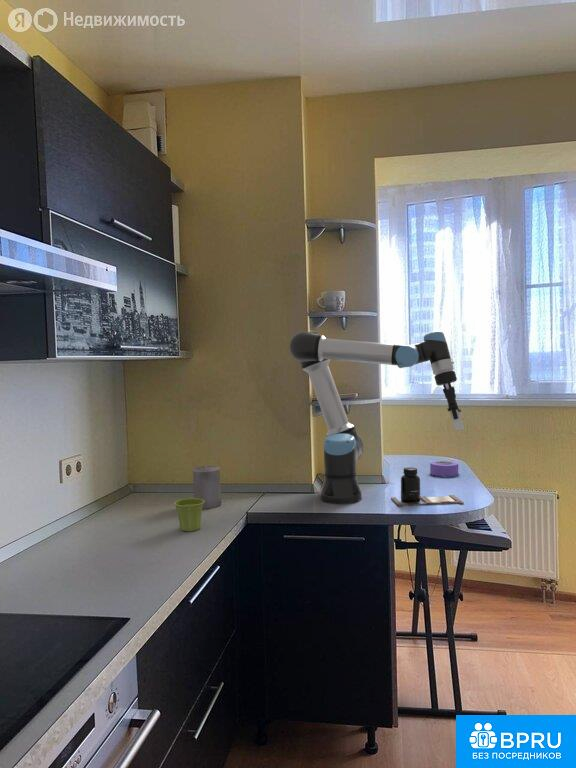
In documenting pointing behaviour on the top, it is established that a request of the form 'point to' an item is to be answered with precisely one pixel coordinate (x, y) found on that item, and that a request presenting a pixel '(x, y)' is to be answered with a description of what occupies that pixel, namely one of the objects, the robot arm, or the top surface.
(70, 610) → the top surface
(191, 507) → the plant pot
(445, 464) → the tape roll
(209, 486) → the pillar candle
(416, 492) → the supplement bottle
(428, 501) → the flat wooden frame
